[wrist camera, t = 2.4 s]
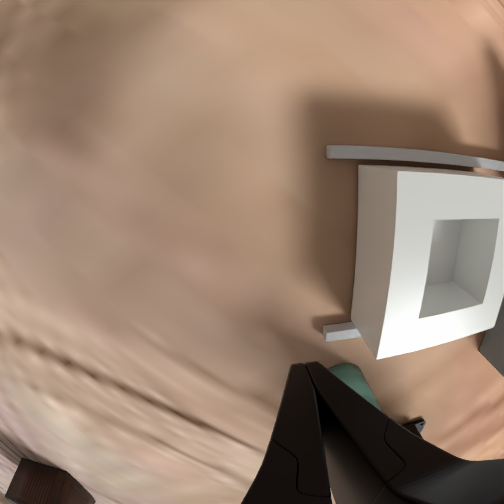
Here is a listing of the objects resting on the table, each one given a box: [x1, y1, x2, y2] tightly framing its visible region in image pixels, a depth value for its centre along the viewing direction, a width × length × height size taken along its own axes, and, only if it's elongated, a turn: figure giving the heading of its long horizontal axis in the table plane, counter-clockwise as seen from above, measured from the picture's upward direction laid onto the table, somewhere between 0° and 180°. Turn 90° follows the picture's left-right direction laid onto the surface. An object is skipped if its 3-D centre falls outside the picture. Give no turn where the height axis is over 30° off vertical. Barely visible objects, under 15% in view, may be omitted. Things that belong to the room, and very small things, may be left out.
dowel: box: [328, 363, 382, 411], centre depth 20 cm, size 4×4×8 cm
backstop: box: [323, 145, 504, 377], centre depth 18 cm, size 26×21×5 cm
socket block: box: [351, 165, 504, 360], centre depth 17 cm, size 11×11×5 cm
